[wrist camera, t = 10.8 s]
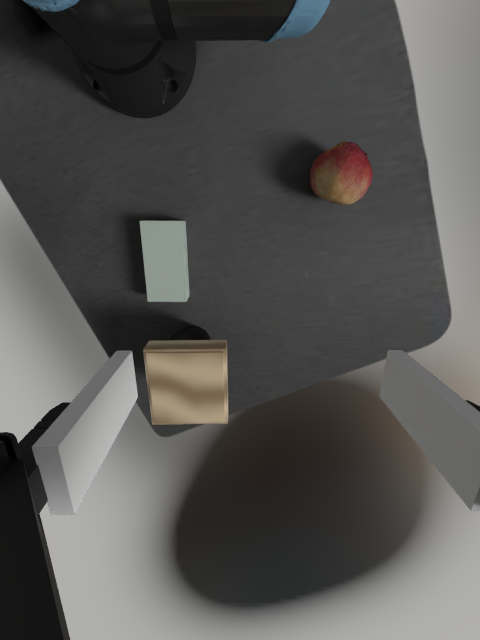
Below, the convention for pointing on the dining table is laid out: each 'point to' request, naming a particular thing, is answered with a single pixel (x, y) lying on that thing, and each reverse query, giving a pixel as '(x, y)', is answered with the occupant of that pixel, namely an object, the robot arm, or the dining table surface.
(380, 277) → the dining table surface
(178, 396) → the lid
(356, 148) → the fruit
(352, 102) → the dining table surface
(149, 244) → the sage green box base
